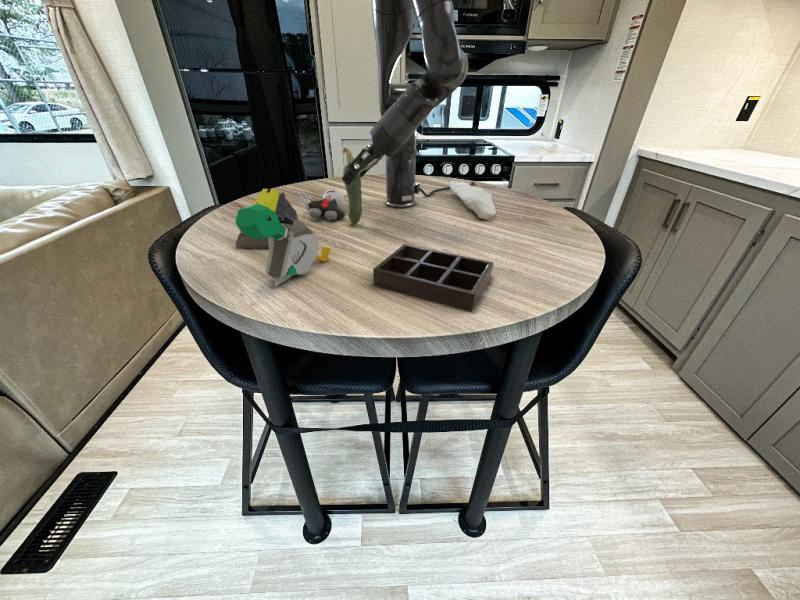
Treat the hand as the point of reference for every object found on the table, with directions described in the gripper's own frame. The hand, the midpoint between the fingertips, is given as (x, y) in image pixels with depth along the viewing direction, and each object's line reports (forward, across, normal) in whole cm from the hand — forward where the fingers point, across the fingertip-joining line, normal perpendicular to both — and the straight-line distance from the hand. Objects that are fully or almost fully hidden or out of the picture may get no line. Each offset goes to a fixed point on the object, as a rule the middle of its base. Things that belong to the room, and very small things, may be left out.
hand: (351, 178), depth 83 cm
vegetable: (+9, 0, +9) cm, 13 cm away
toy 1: (+10, +28, +8) cm, 31 cm away
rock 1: (+20, +15, -2) cm, 26 cm away
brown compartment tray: (-10, +24, +28) cm, 39 cm away
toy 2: (+18, -6, 0) cm, 20 cm away
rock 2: (-12, -28, +31) cm, 43 cm away
